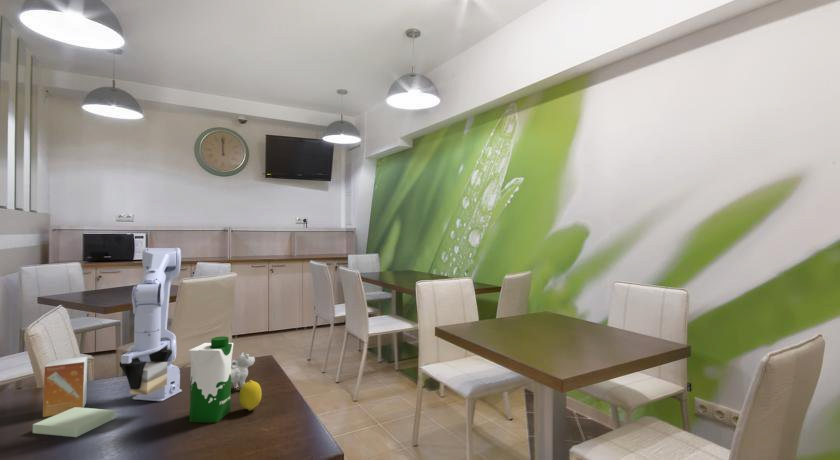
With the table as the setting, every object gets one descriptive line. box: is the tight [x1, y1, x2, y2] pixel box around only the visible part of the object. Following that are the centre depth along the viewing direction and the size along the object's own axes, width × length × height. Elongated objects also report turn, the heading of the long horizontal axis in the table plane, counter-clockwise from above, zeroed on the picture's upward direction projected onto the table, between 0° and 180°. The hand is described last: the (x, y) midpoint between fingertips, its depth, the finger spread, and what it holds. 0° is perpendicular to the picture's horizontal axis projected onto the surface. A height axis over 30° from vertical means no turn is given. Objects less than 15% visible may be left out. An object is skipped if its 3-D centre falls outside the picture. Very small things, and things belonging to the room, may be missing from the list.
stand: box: [32, 407, 116, 438], centre depth 99 cm, size 12×10×2 cm
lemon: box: [238, 379, 263, 411], centre depth 108 cm, size 6×6×8 cm
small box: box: [42, 356, 88, 418], centre depth 108 cm, size 8×6×13 cm
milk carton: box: [188, 336, 234, 423], centre depth 105 cm, size 9×9×20 cm
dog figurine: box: [231, 352, 256, 389], centre depth 123 cm, size 5×13×11 cm, turn 148°
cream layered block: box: [129, 362, 167, 395], centre depth 105 cm, size 4×7×6 cm, turn 175°
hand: (146, 383), depth 105 cm, fingers closed on cream layered block, 7 cm apart
